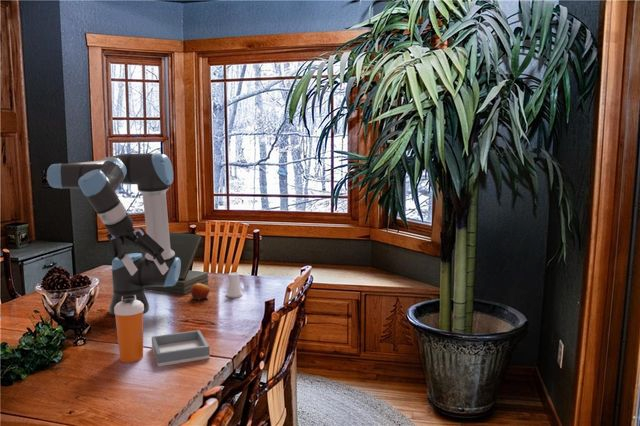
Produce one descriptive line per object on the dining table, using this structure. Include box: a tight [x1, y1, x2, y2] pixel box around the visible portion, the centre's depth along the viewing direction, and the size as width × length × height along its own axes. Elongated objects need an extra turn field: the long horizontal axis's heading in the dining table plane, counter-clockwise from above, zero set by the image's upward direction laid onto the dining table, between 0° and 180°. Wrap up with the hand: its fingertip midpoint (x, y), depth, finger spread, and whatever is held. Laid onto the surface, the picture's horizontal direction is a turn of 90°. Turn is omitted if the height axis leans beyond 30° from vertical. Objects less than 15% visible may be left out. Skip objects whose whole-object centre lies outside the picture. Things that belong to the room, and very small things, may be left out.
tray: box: [151, 329, 211, 367], centre depth 175 cm, size 16×16×4 cm
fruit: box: [190, 283, 211, 302], centre depth 235 cm, size 8×8×8 cm
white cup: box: [225, 272, 244, 299], centre depth 240 cm, size 8×8×10 cm
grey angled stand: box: [143, 231, 209, 296], centre depth 252 cm, size 23×20×25 cm
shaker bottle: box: [114, 295, 144, 363], centre depth 170 cm, size 9×9×20 cm
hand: (149, 272), depth 171 cm, fingers open, 13 cm apart
